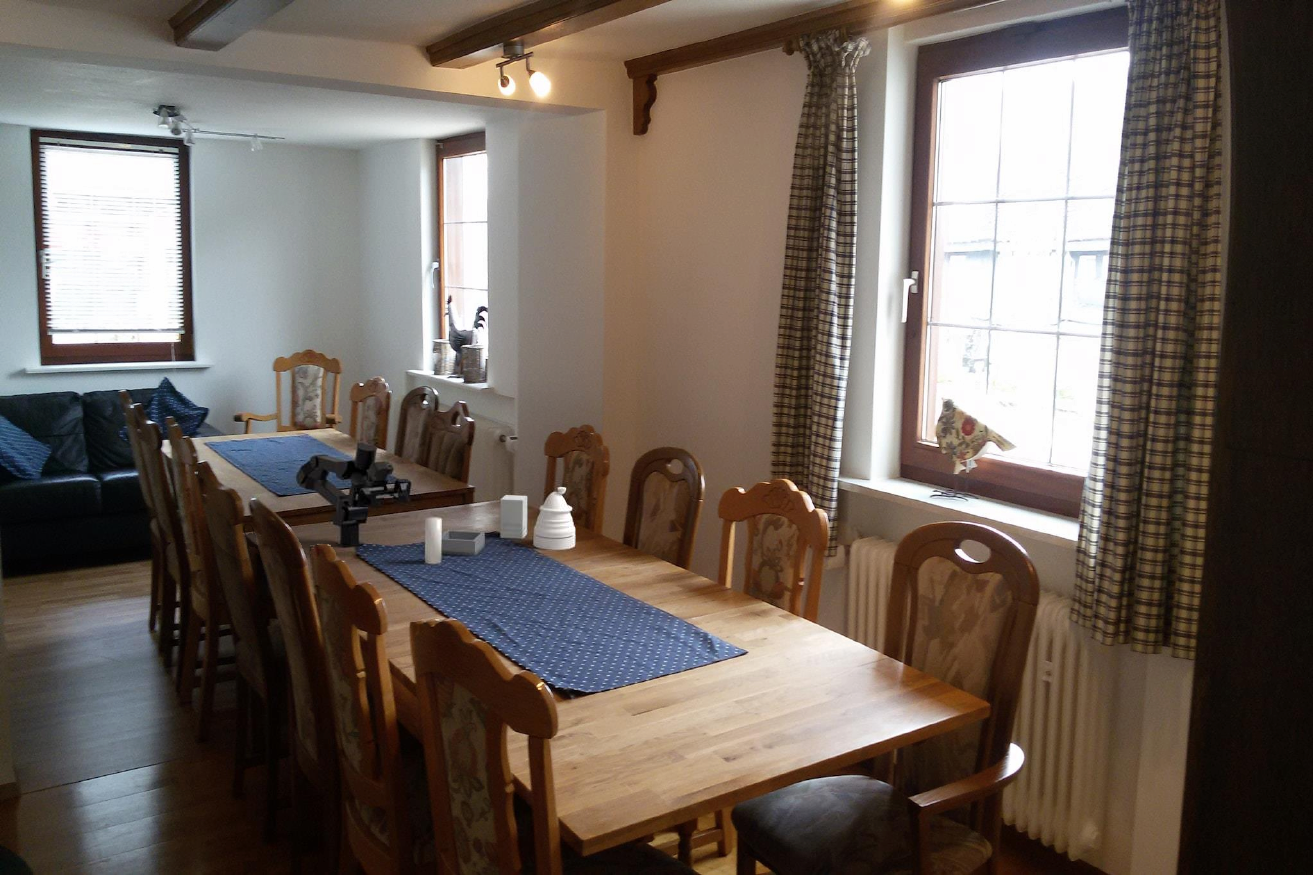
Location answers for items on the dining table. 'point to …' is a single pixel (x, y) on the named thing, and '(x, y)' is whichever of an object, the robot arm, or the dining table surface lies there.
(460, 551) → the grey crate
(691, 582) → the dining table surface
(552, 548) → the honey pot
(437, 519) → the ceramic pillar
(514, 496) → the supplement box
